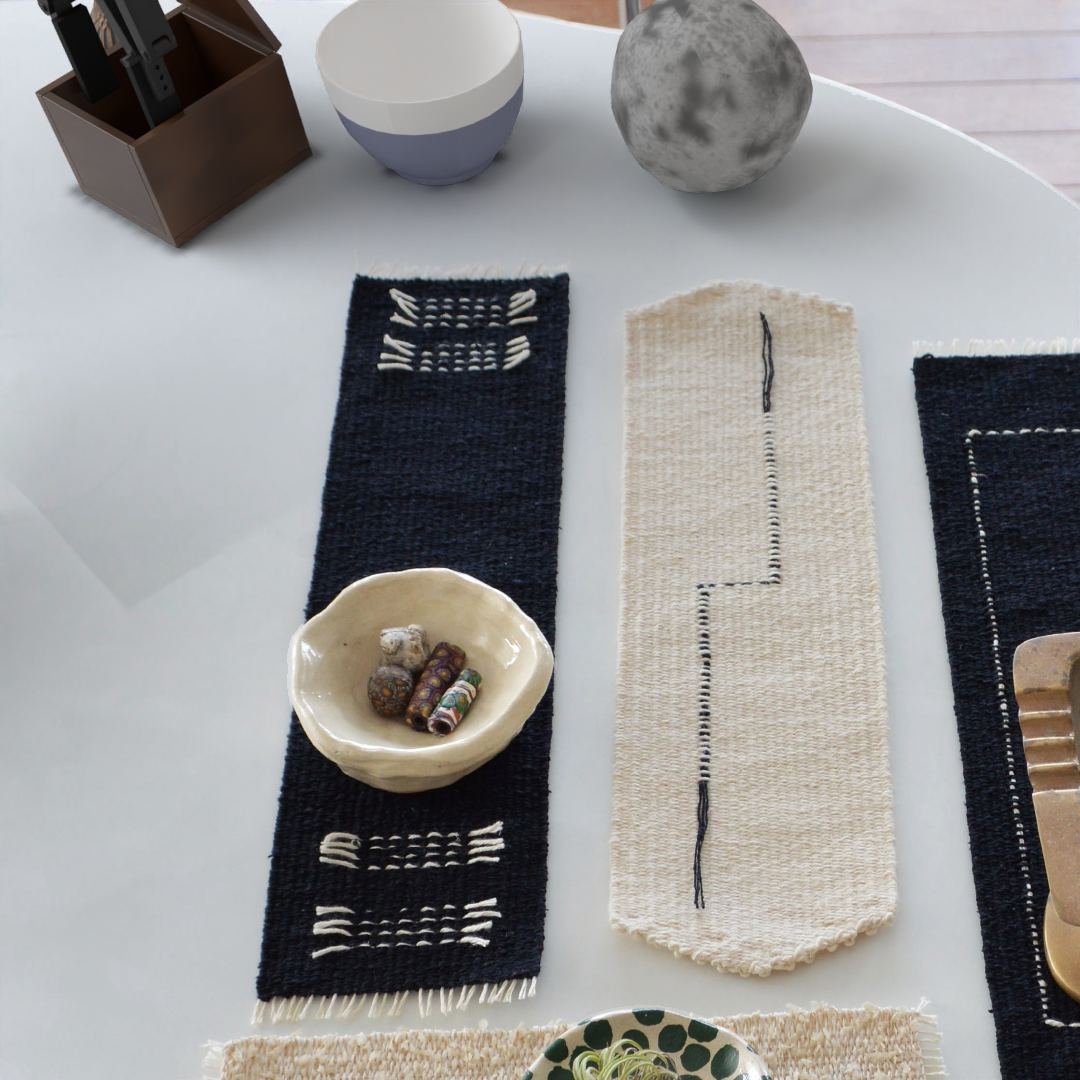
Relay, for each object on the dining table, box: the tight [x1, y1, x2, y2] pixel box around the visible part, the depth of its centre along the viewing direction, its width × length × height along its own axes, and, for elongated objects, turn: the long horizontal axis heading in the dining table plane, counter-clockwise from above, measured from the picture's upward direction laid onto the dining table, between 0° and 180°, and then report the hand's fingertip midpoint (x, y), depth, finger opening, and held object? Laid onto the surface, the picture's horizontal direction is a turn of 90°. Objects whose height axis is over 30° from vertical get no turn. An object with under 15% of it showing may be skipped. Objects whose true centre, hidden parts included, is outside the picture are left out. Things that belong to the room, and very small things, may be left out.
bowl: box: [314, 0, 525, 186], centre depth 116 cm, size 16×16×10 cm
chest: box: [34, 3, 313, 248], centre depth 115 cm, size 15×12×9 cm
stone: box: [610, 0, 814, 194], centre depth 111 cm, size 15×16×15 cm
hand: (137, 112), depth 111 cm, fingers open, 7 cm apart
